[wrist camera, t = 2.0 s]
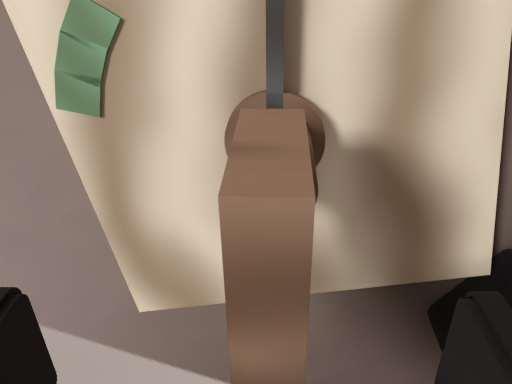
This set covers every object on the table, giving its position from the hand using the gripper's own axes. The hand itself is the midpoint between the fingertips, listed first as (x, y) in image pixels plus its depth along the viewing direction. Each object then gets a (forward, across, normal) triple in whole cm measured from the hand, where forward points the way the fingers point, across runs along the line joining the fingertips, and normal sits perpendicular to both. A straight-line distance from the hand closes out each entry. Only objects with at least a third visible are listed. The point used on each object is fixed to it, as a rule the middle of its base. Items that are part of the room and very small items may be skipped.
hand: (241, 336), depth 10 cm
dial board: (+13, -1, 0) cm, 13 cm away
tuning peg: (+12, -1, -3) cm, 12 cm away
